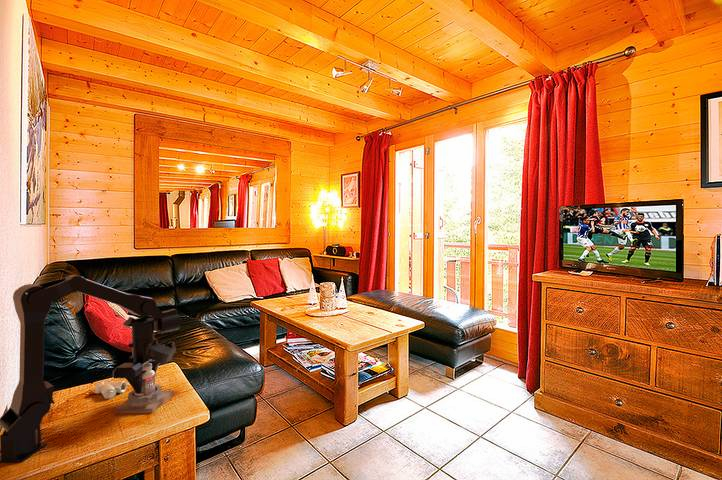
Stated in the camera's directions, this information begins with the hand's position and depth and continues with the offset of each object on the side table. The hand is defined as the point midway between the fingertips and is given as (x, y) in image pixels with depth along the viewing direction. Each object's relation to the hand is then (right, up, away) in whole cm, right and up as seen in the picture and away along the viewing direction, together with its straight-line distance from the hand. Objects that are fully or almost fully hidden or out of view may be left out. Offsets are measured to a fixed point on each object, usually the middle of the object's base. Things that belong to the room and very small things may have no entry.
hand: (144, 388), depth 104 cm
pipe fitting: (-16, -5, +6) cm, 18 cm away
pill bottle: (0, -3, 0) cm, 3 cm away
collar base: (0, -5, 0) cm, 5 cm away
